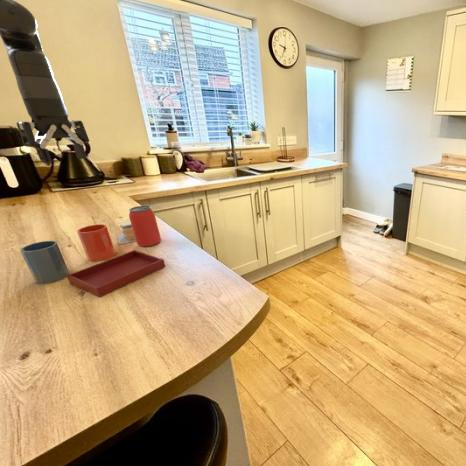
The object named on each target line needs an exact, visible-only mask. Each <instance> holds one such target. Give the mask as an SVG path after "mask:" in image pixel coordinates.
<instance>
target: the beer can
mask: <svg viewBox="0 0 466 466" xmlns="http://www.w3.org/2000/svg"><path fill="white" fill-rule="evenodd" d="M128 211H129V214H128V219H130V221H131V225H132V228H133V231H134V235H135V238H136V241H135V242H136V244H137V246H139V247H151V246H155V245H158V244H159V243H160V242H161V241H162V236H161V234H160V230H159V226H158V221H157V218H156V214H155V212H154V210H153V209H152V207H151V206H150V205H138V206H134V207H131V208H129V209H128Z"/></svg>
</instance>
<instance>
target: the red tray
mask: <svg viewBox="0 0 466 466" xmlns="http://www.w3.org/2000/svg"><path fill="white" fill-rule="evenodd" d="M164 268H166V262H165V259H164V258H160V257H157V256H155V255H151V254H148V253H144V252H142V251H139V250H136V249H134V250H131V251H128V252H126V253H123V254H121V255H118V256H117V255H116V256H114V257H111V258H109V259H106V260H103V261H100V262H99V263H96V264H93V265H90V266H88V267H86V268H83V269H80V270H77V271H75V272H72V273H70V274H69V275H67V277H66V278H67V280H68V282H69V284H70V285H72V286H75V287H76V288H79V289H81V290H83V291H86V292H87V293H90V294H92V295H93V296H96V297H98V298H101V297H103V296H105V295H108V294H110V293H112V292H114V291H116V290H119V289H121V288H123V287H126V286H127V285H129V284H131V283H134V282H137V281H138V280H141V279H142V278H144V277H147V276H149V275H151V274H153V273H156V272H157V271H160V270H162V269H164Z"/></svg>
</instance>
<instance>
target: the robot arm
mask: <svg viewBox="0 0 466 466" xmlns="http://www.w3.org/2000/svg"><path fill="white" fill-rule="evenodd" d="M0 38H1V40H2V42H3V45H4V47H5V49H6V53H7V57H8V61H9V63H10V66H11V69H12V72H13V74H14V77H15V80H16V85H17V88H18V91H19V94H20V96H21V99H22V101H23V103H24V106H25V109H26V112H27V114H28V116H29V117H30V119H31V122H29V121H17V122H16V127H17V129H18V133H19V135H20V139H21V141H22V145H23V146H24V147H28V148H33V149H35V151H36V153H37V156H38V159H39V160H40V161H41V162H43V164H53V159H52V156H51V154H50V151H49V149H48V148H47V145H48V143H49V142H50V141H51V140H52V139H59V138H60V139H65V140H67V141H68V142H70V143H71V144H73V145H72V147H73V150H74V152H75V155H76V158H77V159H78V160H84V159H86V157H87V153H86V151H85V147H84V144H86V143H90V139H89V136H88V133H87V130H86V129H85V126H84V122H83V121H82V120H71V121H70V119H69V113H68V110H67V107H66V103H65V101H64V98H63V95H62V92H61V90H60V87H59V85H58V83H57V81H56V79H55V76H54V72H53V70H52V66H51V64H50V61H49V59H48V57H47V56H46V54H45V52H44V50H43V46H42V43H41V39H40V37H39V33H38V22H37V20H36V17H35V16H34V14H33V13H32V12H31V11H30V10H29V9H28V8H27V7H26V6H24V5H23V4H21V3H19V2H18V1H16V0H0ZM34 129H35V130H36V131H37V132H36V133H35V135H34V133H33V131H34ZM71 129H73V131H72V130H71Z"/></svg>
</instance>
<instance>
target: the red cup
mask: <svg viewBox="0 0 466 466" xmlns="http://www.w3.org/2000/svg"><path fill="white" fill-rule="evenodd" d="M76 231H77V235H78V238H79V240H80V243H81V245H82V248H83V251H84V253H85V256H86V258H87V260H88V261H90V262H103V261H107V260H109V259H112V258H114V257H115V256H116V254H117V253H116V249H115V246H114V244H113V240H112V238H111V234H110V231H109V228H108V226H107V224H103V223H102V224H99V223H97V224H91V225H86V226H83V227H81V228H78V229H77V230H76Z"/></svg>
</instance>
